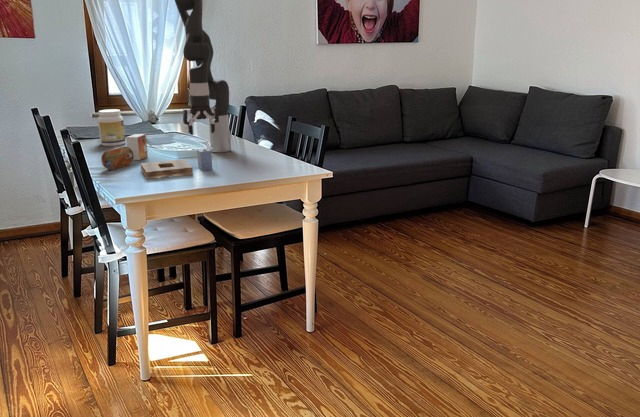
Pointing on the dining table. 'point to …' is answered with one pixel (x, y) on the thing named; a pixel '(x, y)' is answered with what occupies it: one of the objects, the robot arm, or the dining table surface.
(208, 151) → the block
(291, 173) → the dining table surface
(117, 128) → the supplement tub
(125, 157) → the tin
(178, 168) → the pocket board
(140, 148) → the small box
